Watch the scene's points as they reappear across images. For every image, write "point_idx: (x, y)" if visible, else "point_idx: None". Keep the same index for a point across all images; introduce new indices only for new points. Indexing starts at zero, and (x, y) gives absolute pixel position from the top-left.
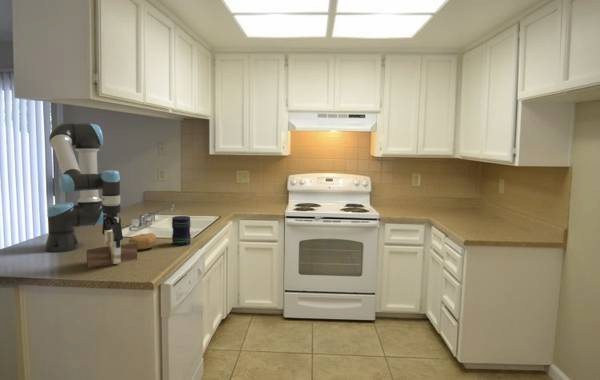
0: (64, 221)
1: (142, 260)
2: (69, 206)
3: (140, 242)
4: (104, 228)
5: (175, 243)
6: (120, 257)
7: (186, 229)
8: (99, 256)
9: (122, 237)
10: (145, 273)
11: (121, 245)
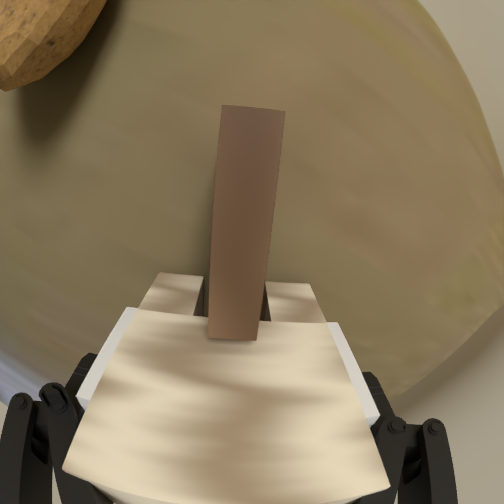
0: None
1: (328, 126)
2: None
3: (75, 13)
4: (48, 480)
5: None
6: (317, 303)
7: None
8: None
9: (444, 435)
10: (484, 260)
11: (259, 311)
